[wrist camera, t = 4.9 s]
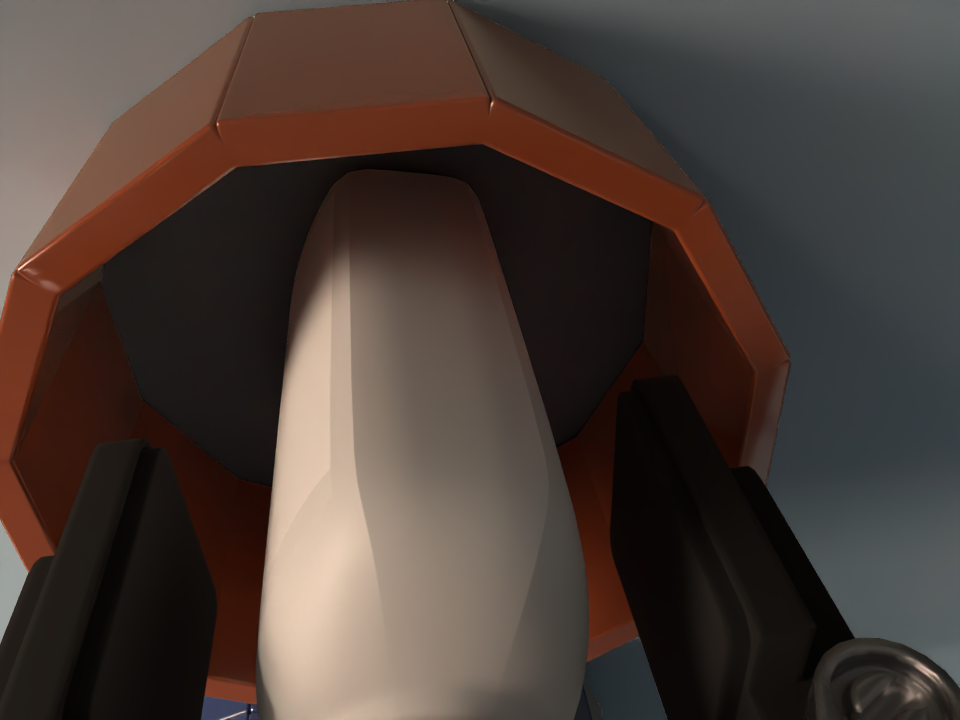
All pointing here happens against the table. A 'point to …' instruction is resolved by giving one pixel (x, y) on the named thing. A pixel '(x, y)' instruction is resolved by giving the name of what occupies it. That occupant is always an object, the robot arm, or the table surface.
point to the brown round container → (343, 133)
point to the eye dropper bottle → (415, 479)
